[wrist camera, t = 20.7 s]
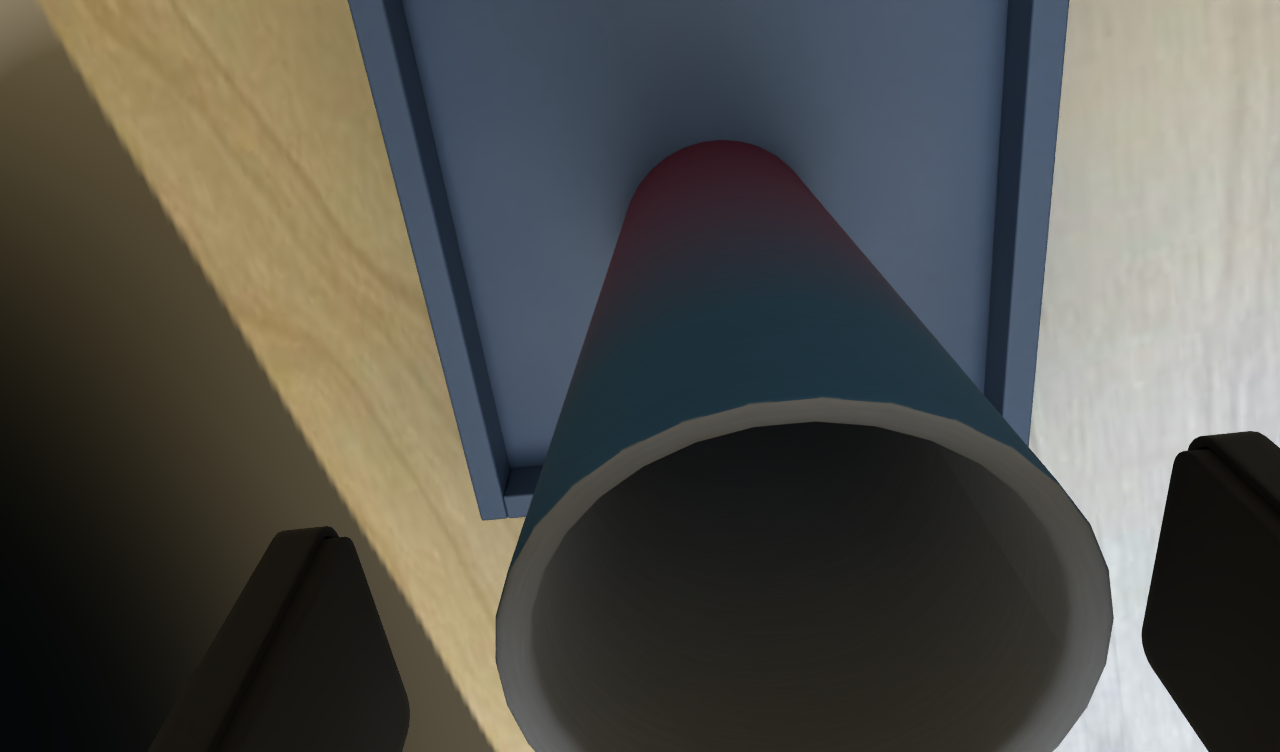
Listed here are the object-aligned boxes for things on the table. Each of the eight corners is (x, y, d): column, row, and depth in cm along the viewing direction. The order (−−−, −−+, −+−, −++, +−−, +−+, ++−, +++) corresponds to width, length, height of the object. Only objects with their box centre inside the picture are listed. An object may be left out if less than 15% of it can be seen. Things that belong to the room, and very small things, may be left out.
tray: (492, 482, 28) (481, 522, 26) (357, -72, 20) (328, -71, 19) (1002, 435, 26) (1027, 472, 25) (1047, -172, 19) (1087, -181, 17)
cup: (595, 353, 25) (520, 857, 11) (583, 104, 22) (459, 401, 8) (838, 350, 25) (1048, 860, 11) (862, 99, 21) (1191, 394, 8)
